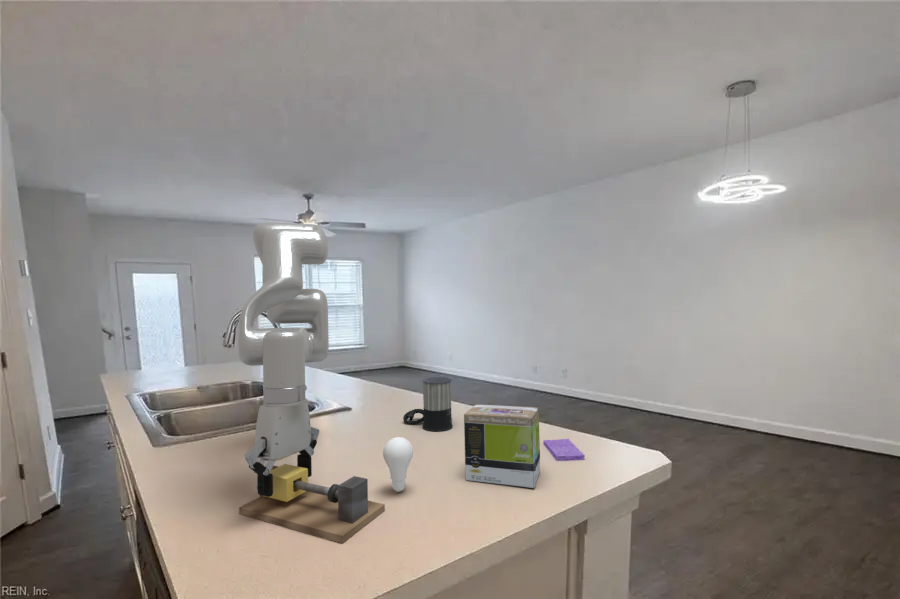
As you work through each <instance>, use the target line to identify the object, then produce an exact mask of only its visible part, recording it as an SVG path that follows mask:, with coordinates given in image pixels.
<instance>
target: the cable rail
mask: <svg viewBox="0 0 900 599" xmlns="http://www.w3.org/2000/svg"><path fill="white" fill-rule="evenodd" d="M277 467H279V466H276V465H273V467H272V469H271V470H273V469H275V468H277ZM368 483H369V482H368V478H365V477H361V476H360V477H359V476H356V475H354V476H351V477H350V478H348V479H347V480H344V481H343V482H342V483H339V484H337V483H333V484H332V485H331V486H330V487H328V486H323V485H319V484H315V483H310V482H308V483H306V482H302V481H297V480H295V481H293V488H295V489H300V490H304V491H306V492H304V493H302V494H300V495H299V496H297V497H295V498H293V499H291V500H289V501H288V502H285V501H281V500H277V499H273V498H269V497H265V496H263V495H259V497H257V498H255V499H253V500H250V501H249V502H247V503H245V504H243V505H241V506H239V508H238V513H239V515H241V516H244V517H249V518H252V519H255V520H260V521H264V522H266V523H270V524H274V525H277V526H280V527H283V528H287V529H292V530H294V531H297V530H298V531H297V532H301V531H302V532H301V533H304V532H305V534H308V535H311V536H315V537H318V536H319V537H318V538H322V539H325V538H326V540H329V541H333V542H336V543H340V544H344V543H345V542H347V541H348V540H349V539H350V538H352V537H353V536H354V535H356V534H357V533H358V532H359V531H361V530H362V529H363V528H365V527H366V526H367V525H369V524H370V523H371V522H373V520H375V519H377V517H379V516H380V515H381V514H382V513H383V512H385V511H386V510H385V509H386V505H385V504H384V503H381V502H376V501H372V500H369V496H368V495H369V494H368V493H369V492H368V491H369V490H368V486H369V485H368Z"/></svg>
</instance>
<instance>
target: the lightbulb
mask: <svg viewBox="0 0 900 599" xmlns="http://www.w3.org/2000/svg"><path fill="white" fill-rule="evenodd" d="M382 450H383V451H382V456H383V459H384V462H385V464H386V465H387V467H388V469H389V473H390V479H391V485H392V486H391V487H392V490H393V491H396V492H397V493H400V492H402V491H403V490H404V489H406V479H407V473H408V472H407V471H408V468H409V466H410V463H411V461H412V459H413V456H414V448H413V446H412V443H411V442H410V441H409V440H408V439H407V438H405V437H402V436H401V437H400V436H396V437H393V438H391V439H390V440H388V441H387V442H386V444H385V445H384V447H383V449H382Z"/></svg>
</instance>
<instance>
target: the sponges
mask: <svg viewBox="0 0 900 599" xmlns="http://www.w3.org/2000/svg"><path fill="white" fill-rule="evenodd" d="M543 445H544V447H545V448H546V449H547V451H548V452H549V453H550V454H551V455H552V457H553V458H554V460H555V461H556V462H564V461H585V454H584V452H582V451H581V450H580V449H579V448H578V447H577V446H576V444H574V442H572V440H570V438H562V439H543Z"/></svg>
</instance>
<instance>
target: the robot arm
mask: <svg viewBox="0 0 900 599" xmlns="http://www.w3.org/2000/svg"><path fill="white" fill-rule="evenodd" d="M252 238H253V239H252V240H253V244H254V247H255V251H256V254H257V255H258V257H259V259H260V262H261V264H262V286H260V288H258V290H256V291H255V292H254V293H253V294H252V295H251V296H250V297H249V298H248V300H247V301H246V303H245V304H244V306H243V308H242V310H241V312H240V315H239V319H238V332H237V334H238V335H237V336H238V337H237V352H238V357H239V359H240V361H241V362H242V363H243V364H245V365H247V366H251V367H253V366H254V367H255V366H262V376H263V377H262V378H263V380H262V382H263V383H262V384H263V385H262V386H263V387H262V390H263V393H262V394H263V396H262V397H263V399H262V400H263V401H262V402H263V404H261V405H259V409H258V414H257V418H256V426H255V439H254V445H253V446H252V447H250V449H249V450H248V451H247V452H246V453H245V454H244V459H245V461H246V463H247V465H248V468H249V469H250V470H251V471H253V473H254V474H256V475H257V476H256V477H257V478H256V479H257V480H256V482H257V486H256V487H257V494H258V495H259V496H260V495H263V496H267V497H270V496H272V495H273V475H272V474H271V473H270V471H271V469H272V467H273V466H275V464H276V462H277V461H280V460H282V459H285V458H288V457H290V456H293V455H294V454H295V455H296V454H297V457H296V462H297V465H296V466H298V467H302V468H307V469H308V478H310V477H312V474H313V473H312V472H313V470H312V469H313V468H312V467H313V466H312V457H313V455H314V454H315V451H314V450H315V447H316V445H317V443H318V441H317V440H318V437H319V434H320V429H319V428H315V427H313V426H311V416H310V409H309V404H308V399H307V398H306V391H307V389H308V387H307V385H306V363H317V362H318V363H319V362H322V361H325V360H326V359H327V357H328V356H329V355H328V354H329V346H330V345H329V343H330V342H329V341H330V340H329V308H328V307H329V306H328V298H327V296H326V294H325V292H324V291H322V289H318V288H304V280H303V265H311V266H312V265H314V266H315V265H316V266H317V265H323V264H324V263H325V262H327V258H328V256H329V255H328V254H329V245H328V244H329V243H328V239H327V236H326V233H325V231H324V229H323V227H322V226H320V225H318V224H313V223H293V222H292V223H291V222H278V221H277V222H276V221H275V222H274V221H273V222H262V223H258V224H257V225H255V226H254V228H253V231H252ZM264 312H266V316H267V317H266V318H267V319H268V321H270V323H274V324H281V325H282V324H284V325H285V324H288V325H289V324H309V325H310V326H311V327H267V328H264V327H262V328H254V324H255V321H256V319H257V318H258V317H259V316H260V315H261V314H263V313H264ZM298 453H299V454H298Z"/></svg>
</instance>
